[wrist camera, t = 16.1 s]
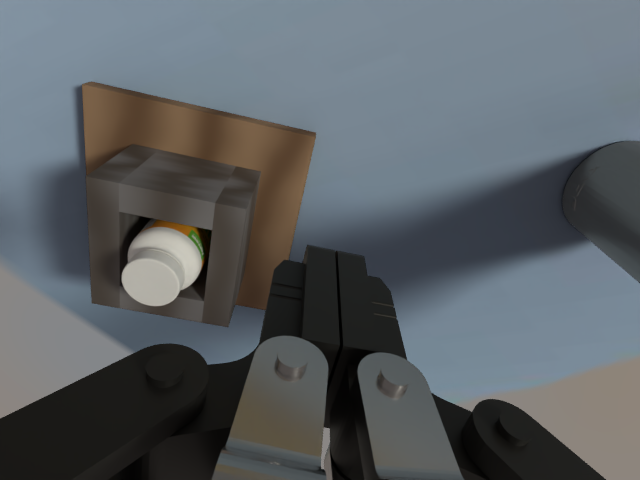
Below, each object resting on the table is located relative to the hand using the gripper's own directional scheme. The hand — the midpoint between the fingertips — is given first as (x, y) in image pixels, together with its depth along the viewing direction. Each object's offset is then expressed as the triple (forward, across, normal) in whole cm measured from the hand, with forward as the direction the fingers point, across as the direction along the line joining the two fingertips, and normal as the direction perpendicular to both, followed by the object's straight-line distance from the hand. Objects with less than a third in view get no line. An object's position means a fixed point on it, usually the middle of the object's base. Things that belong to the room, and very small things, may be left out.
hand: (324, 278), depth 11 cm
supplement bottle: (+24, +9, +12) cm, 29 cm away
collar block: (+27, +10, +12) cm, 31 cm away
